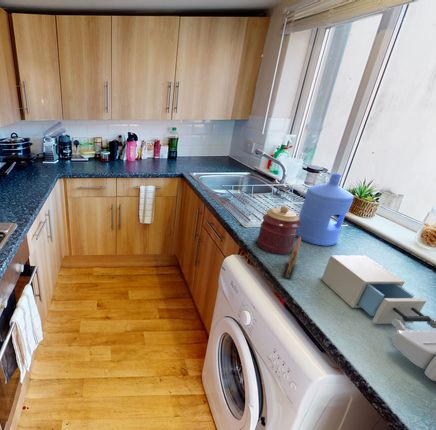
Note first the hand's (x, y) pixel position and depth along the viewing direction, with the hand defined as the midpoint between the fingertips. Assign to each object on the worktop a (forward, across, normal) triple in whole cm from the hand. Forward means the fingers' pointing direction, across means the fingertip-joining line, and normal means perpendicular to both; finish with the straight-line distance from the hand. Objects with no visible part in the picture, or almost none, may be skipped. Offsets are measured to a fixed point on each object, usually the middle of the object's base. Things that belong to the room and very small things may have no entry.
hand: (412, 320), depth 73 cm
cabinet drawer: (+7, 0, +4) cm, 8 cm away
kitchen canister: (+45, +11, +5) cm, 47 cm away
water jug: (+53, -12, +5) cm, 54 cm away
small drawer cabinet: (+17, 0, +5) cm, 18 cm away
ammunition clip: (+28, +14, +5) cm, 32 cm away
